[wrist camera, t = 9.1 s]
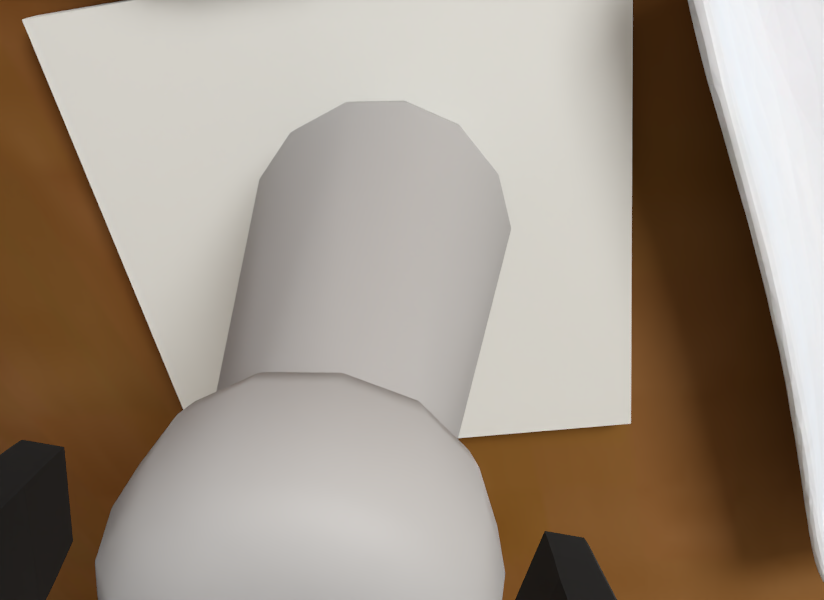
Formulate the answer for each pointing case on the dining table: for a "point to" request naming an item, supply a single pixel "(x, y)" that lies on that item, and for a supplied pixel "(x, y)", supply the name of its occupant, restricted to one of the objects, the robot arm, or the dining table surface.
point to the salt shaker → (336, 386)
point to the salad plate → (780, 189)
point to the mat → (367, 81)
